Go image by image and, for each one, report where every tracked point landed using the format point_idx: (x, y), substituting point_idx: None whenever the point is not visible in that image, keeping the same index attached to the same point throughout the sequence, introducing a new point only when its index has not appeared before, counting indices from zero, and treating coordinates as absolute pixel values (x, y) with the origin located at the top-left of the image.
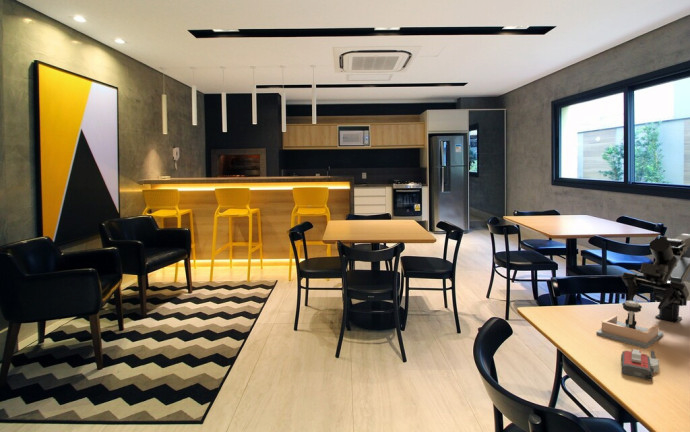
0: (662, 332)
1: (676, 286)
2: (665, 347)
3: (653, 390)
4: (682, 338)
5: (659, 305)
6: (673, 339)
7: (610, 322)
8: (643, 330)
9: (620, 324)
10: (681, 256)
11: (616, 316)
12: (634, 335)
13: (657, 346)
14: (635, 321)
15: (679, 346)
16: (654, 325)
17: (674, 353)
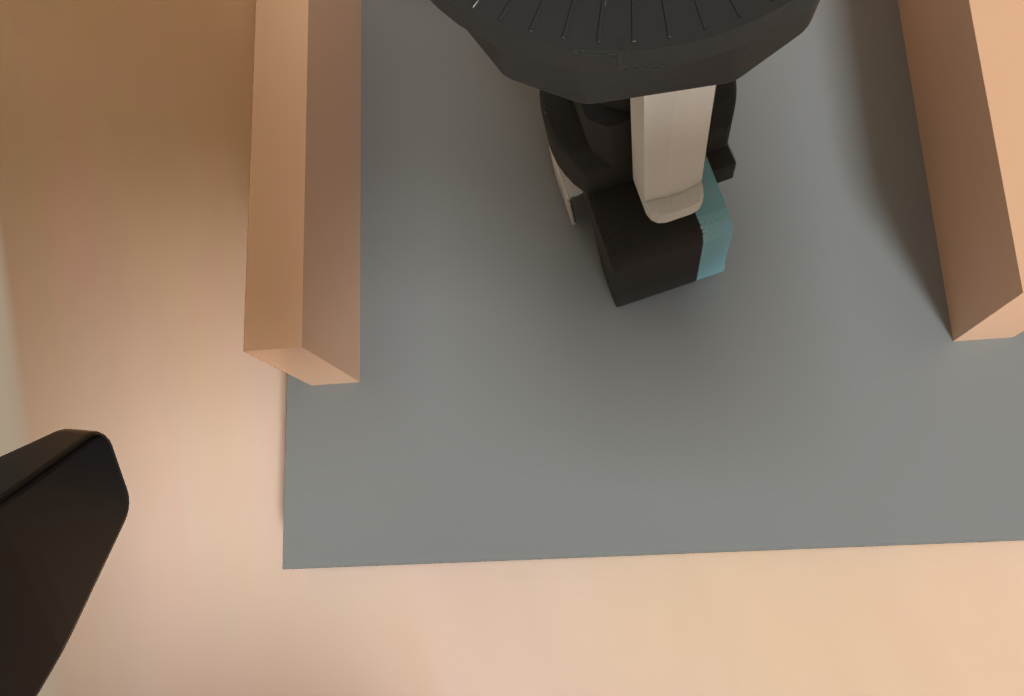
0: (292, 562)
1: None
2: (167, 119)
3: None
4: (80, 682)
5: (17, 460)
6: (161, 518)
7: (941, 3)
8: (523, 403)
9: (906, 385)
10: None
11: (1013, 249)
12: None
13: (240, 71)
14: (557, 106)
15: (56, 299)
16: (297, 310)
17: (57, 24)
